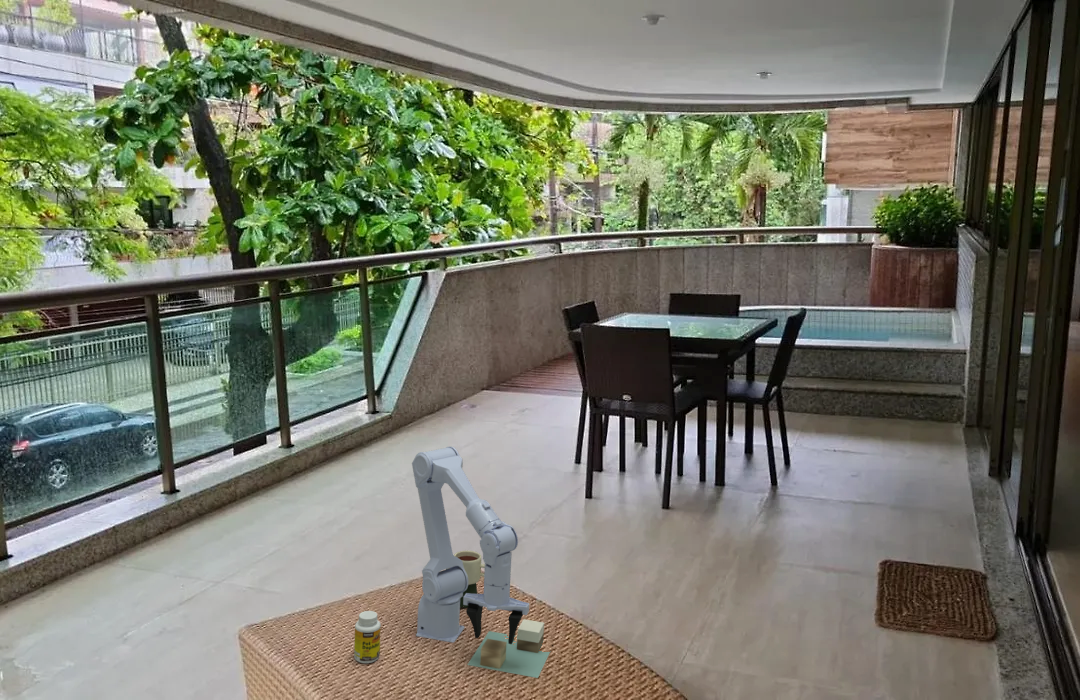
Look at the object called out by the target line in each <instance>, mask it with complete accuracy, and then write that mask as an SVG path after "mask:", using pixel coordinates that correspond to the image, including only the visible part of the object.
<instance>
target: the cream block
mask: <svg viewBox="0 0 1080 700" xmlns="http://www.w3.org/2000/svg"><path fill="white" fill-rule="evenodd" d="M519 624H520V625H518V626H519V627H517V635H516V636H517V639H519V640H524V641H530V642H536V643H539V641H540V639H541V637H542V635H543V633H545V622H542V621H537V620H529V619H522V621H521V623H519Z"/></svg>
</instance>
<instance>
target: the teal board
mask: <svg viewBox="0 0 1080 700" xmlns="http://www.w3.org/2000/svg"><path fill="white" fill-rule="evenodd" d="M504 636H506V637H504ZM505 638H509V637H508V636H507V633H504V632H503V633H502V632H498V631H497V632H495V631H491V630H488V632H487V633H486V634H485V637H484V638H483V639H482V641H481V643H480V644H479V645H478V647H477V649H476V651H475V652H474V653H473V655H472V656H471V659H470V660H469V661H468V663H467V666H471V667H476V668H482V669H487V670H492V671H498V672H504V673H509V674H513V675H519V676H525V677H529V678H536V679H538V678H539V677H540V675H541V672H542V670H543V668H544V667H545V664H546V662H547V659H548V658H549V656H550V653H551V651H550V652H542V651H539V652H538V653H534V652H528V651H523V650H517V642H516V641H513V642H516V643H512V644H508V639H505ZM487 639H492V640H498V641H503V642H507V643H506V659H505V661H504V663H503V664H502V666H501V668H500V669H498V668H493V667H487V666H482V665H480V661H481V648H482V646H483V645H484V643H485V641H486V640H487ZM513 644H514V645H513Z"/></svg>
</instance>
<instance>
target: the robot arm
mask: <svg viewBox="0 0 1080 700" xmlns="http://www.w3.org/2000/svg"><path fill="white" fill-rule="evenodd" d="M463 463H464V462H463V458H462V457H461V455H460V454H459V451H458V450H457V449H456V447H454V446H446V447H443V448H438V449H433V450H428V451H420V452H418V453H417V454H416V455H415V457H414V459H413V460H412V462H411V466H412V471H413V472H412V473H413V477H414V483H415V487H416V488H417V493H418V499H419V504H420V509H421V515H422V521H423V525H424V526H423V527H424V531H425V537H426V543H427V547H428V548H427V549H428V553H429V560H428V562H427V563H426V565H425V566H424V567H423V568H422V570H421V574H422V585H421V587H422V588H421V589H422V593H423V594H422V595H421V598H420V599H419V602H418V606H417V622H416V623H417V627H416V628H417V630H416V632H417V633H416V634H415V637H419V638H424V639H425V638H426V639H430V640H435V641H441V642H446V643H452V644H454V643H455V642H456V641H457V639H458V638H459V636H460V635H461V634H462V633H463V631H464V630H465V626H464V625H460V614H461V613H460V611H461V607H460V598H461V597H463V592H464V591H466V589H467V588H468V575H467V573H466V571H465V569H464V567H463V562H462V560H460V559H459V558H457V557H455V556H454V553H453V548H452V543H451V538H450V531H449V527H448V521H447V515H446V511H445V505H444V499H443V493H442V488H443V486H444V485H445V484H447V485H448V486H449V488H450V489H451V490H452V492H454V494H455V495H456V496H457V497H458V499H459V500H460V501H461V502H462V504H463V505H464V506H465V507H466V509H465V517H466V518H467V520H468V521H469V523H470V524H471V526H472V527H473V529H474V531H475V532H476V534H477V535H478V536H479V538H480V539H479V546H480V550H481V552H482V560H483V562H484V564H485V568H484V571H485V573H484V572H483V573H484V577H483V579H484V580H483V593H477V594H470V593H466V594H465V596H464V598H463V605H468V607H466V611H465V612H466V615H467V616H468V618H469V620H470V622H471V625H472V628H473V632H474V638H475V639H479V637H480V636H481V634H482V617H483V616H482V615H483V608H486V610H487V611H491V612H495V611H498V610H500V611H501V610H502V611H507V612H511V613H510V614H509V615H508V627H509V629H508V630H509V631H508V634H509V639H508V644H512V643H513V641H514V637H515V636H516V632H517V631H518V628H519V627H518V626H519V624H520V621H521V620H522V618H523V616H527V615H528V614H529V612H530V603H529V602H525V601H522V600H519V599H516V598H513V597H510V595H511V594H510V593H511V575H512V574H511V572H512V553H513V551H515V550H516V549H517V547H518V543H519V537H518V535H517V532H516V530H515V528H514V527H513V526H512V525H511V524H509V523H508V524H507V523H506V521H502V520H501V519H500V517H499V515H497V513H496V512H495V510H494V508H493V507H492V506H491V504H490V503H489V501H488V500H486V499H482V498H480V497H479V495H478V493H477V492H476V490H475V488H474V487H473V485H472V484H471V482H470V480H469V478H468V476H467V474H466V472H465V471H464V469H463V467H464V465H463ZM448 568H449V569H448Z"/></svg>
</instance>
